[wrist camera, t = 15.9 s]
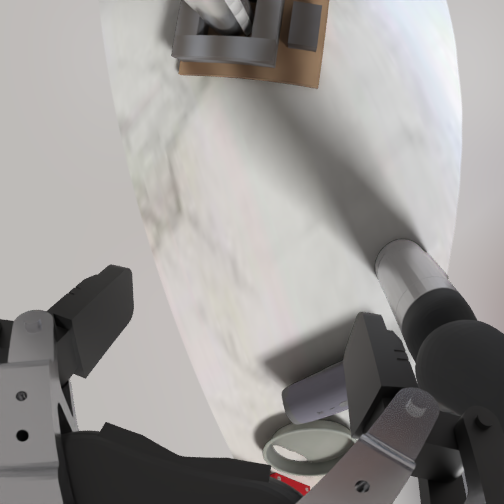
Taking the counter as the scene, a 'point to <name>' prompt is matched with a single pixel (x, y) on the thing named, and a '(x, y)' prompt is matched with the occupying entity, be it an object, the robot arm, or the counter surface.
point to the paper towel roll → (225, 16)
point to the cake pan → (309, 447)
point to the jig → (257, 44)
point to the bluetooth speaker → (316, 395)
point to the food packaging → (292, 483)
